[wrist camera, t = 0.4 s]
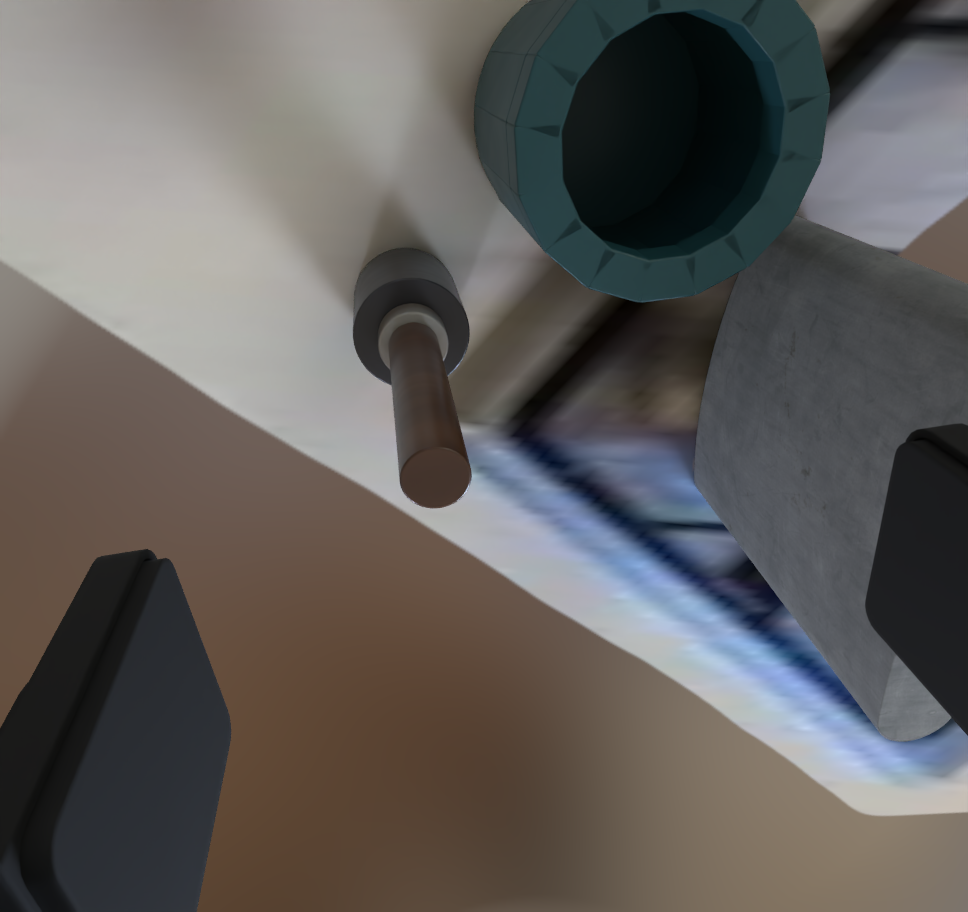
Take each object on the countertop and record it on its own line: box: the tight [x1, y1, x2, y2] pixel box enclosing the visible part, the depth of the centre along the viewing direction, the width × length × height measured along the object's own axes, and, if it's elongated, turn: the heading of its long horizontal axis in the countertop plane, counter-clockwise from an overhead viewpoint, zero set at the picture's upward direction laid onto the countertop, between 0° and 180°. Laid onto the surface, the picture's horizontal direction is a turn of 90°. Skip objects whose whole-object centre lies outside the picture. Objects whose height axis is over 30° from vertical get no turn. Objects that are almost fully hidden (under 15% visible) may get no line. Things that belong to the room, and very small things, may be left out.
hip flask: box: [694, 215, 968, 741], centre depth 31 cm, size 16×4×20 cm, turn 175°
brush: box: [353, 248, 472, 508], centre depth 28 cm, size 5×5×17 cm
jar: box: [474, 0, 830, 303], centre depth 28 cm, size 10×10×10 cm
